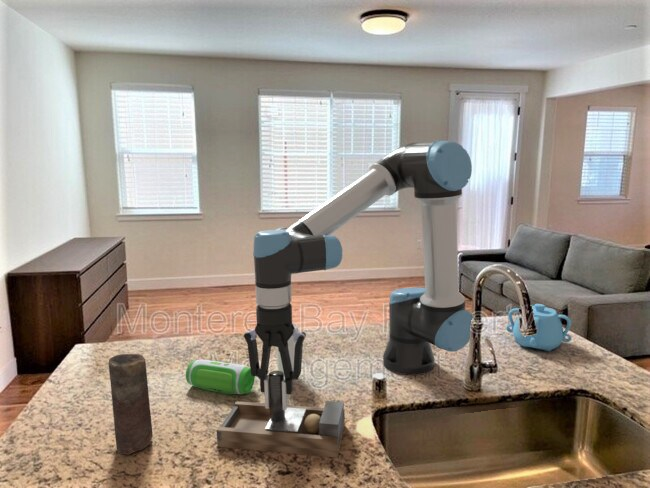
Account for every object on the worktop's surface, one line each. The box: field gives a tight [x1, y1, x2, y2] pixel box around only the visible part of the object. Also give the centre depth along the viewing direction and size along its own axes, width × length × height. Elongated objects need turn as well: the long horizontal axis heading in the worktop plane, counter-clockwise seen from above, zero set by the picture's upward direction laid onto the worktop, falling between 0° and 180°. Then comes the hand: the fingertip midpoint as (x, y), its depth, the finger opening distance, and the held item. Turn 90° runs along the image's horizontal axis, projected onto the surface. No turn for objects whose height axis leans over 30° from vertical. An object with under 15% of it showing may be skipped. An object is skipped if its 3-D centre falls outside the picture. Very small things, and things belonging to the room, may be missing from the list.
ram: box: [265, 370, 306, 434], centre depth 100 cm, size 7×9×13 cm
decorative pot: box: [506, 303, 572, 352], centre depth 149 cm, size 16×16×14 cm
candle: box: [108, 353, 154, 455], centre depth 97 cm, size 8×7×20 cm
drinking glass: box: [274, 322, 299, 377], centre depth 128 cm, size 7×7×15 cm
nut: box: [304, 414, 321, 433], centre depth 100 cm, size 4×4×4 cm
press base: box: [216, 400, 346, 459], centre depth 101 cm, size 26×12×6 cm, turn 81°
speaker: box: [185, 358, 256, 395], centre depth 123 cm, size 18×7×8 cm, turn 71°
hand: (277, 405), depth 101 cm, fingers closed on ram, 3 cm apart
